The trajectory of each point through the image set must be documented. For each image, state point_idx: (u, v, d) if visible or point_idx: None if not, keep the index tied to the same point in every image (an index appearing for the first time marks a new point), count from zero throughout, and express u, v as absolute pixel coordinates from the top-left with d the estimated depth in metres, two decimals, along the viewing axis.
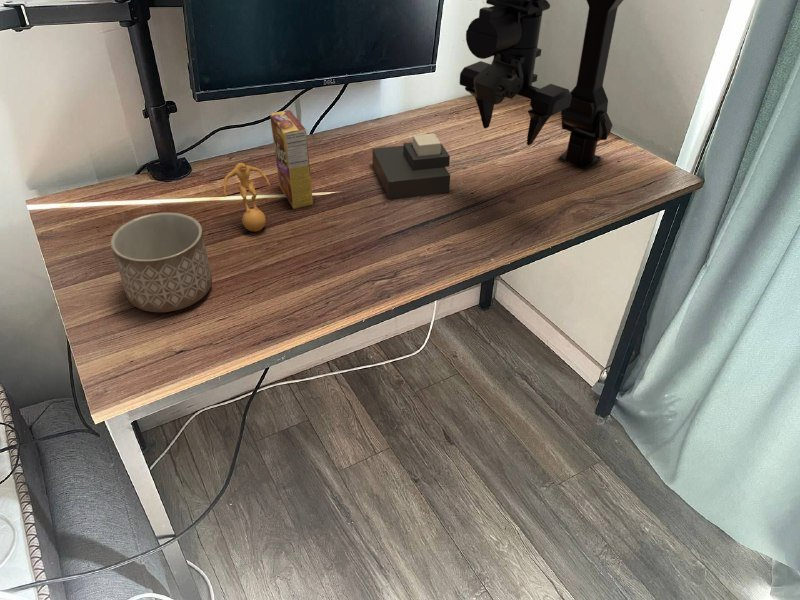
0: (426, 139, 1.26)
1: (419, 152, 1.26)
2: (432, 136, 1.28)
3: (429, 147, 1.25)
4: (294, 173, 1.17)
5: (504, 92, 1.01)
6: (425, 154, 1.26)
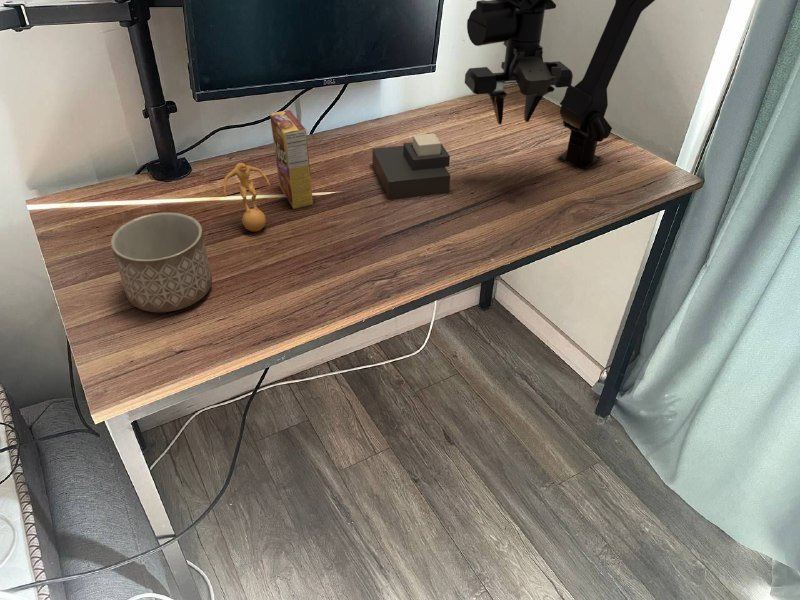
0: (426, 139, 1.26)
1: (419, 152, 1.26)
2: (432, 136, 1.28)
3: (429, 147, 1.25)
4: (294, 173, 1.17)
5: (555, 79, 1.12)
6: (425, 154, 1.26)
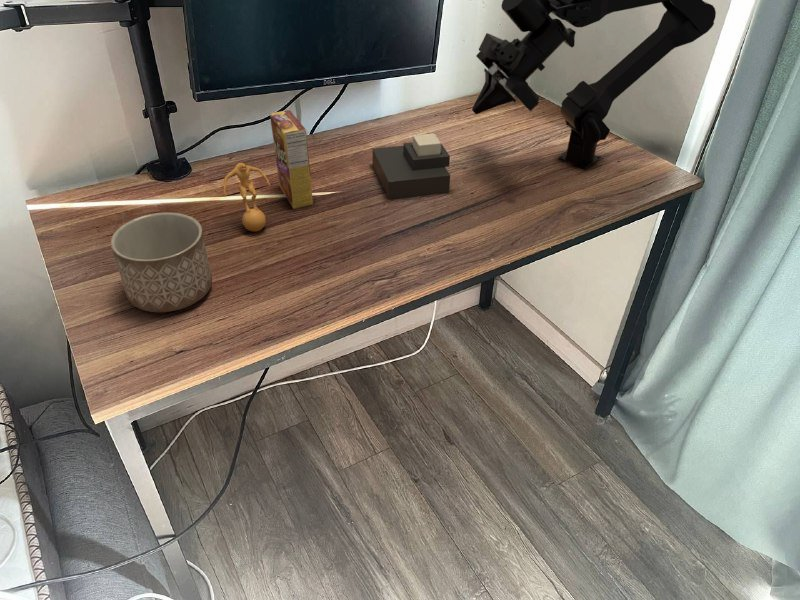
0: (426, 139, 1.26)
1: (419, 152, 1.26)
2: (432, 136, 1.28)
3: (429, 147, 1.25)
4: (294, 173, 1.17)
5: (498, 48, 1.15)
6: (425, 154, 1.26)
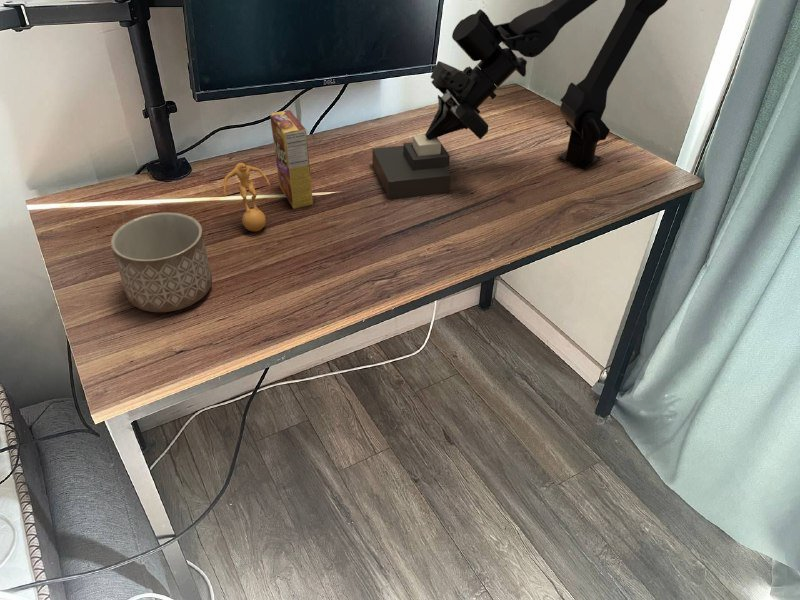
0: (426, 139, 1.26)
1: (419, 152, 1.26)
2: None
3: (429, 147, 1.25)
4: (294, 173, 1.17)
5: (447, 76, 1.16)
6: (425, 154, 1.26)
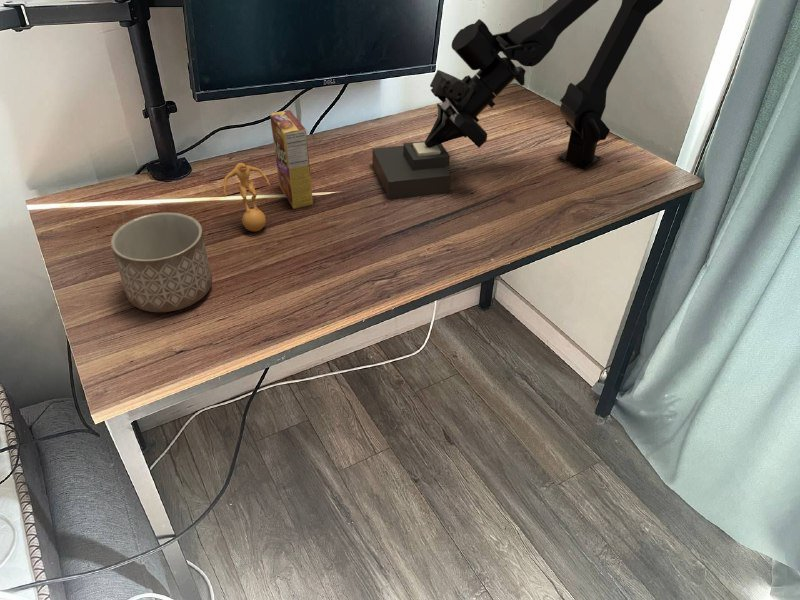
0: (425, 147, 1.28)
1: None
2: None
3: None
4: (294, 173, 1.17)
5: (447, 85, 1.17)
6: None
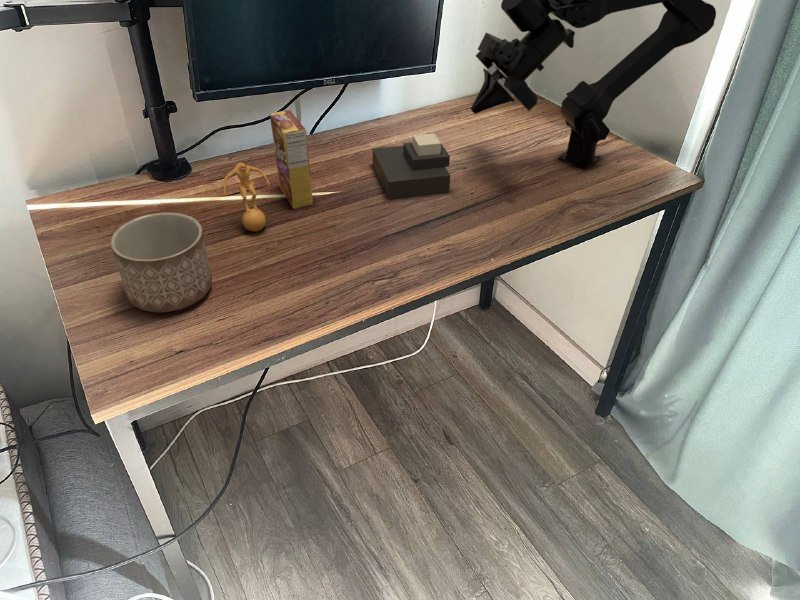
0: (426, 139, 1.26)
1: (419, 152, 1.26)
2: (432, 136, 1.28)
3: (429, 147, 1.25)
4: (294, 173, 1.17)
5: (497, 47, 1.15)
6: (425, 154, 1.26)
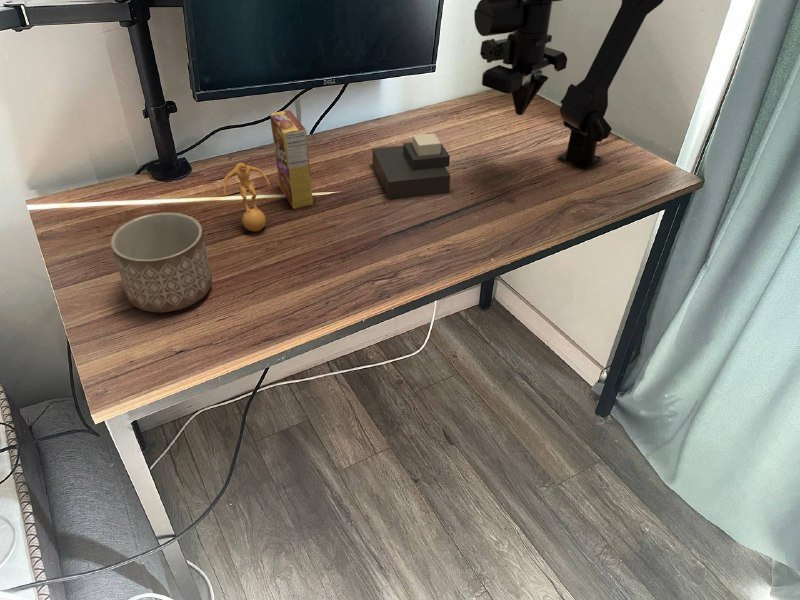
0: (426, 139, 1.26)
1: (419, 152, 1.26)
2: (432, 136, 1.28)
3: (429, 147, 1.25)
4: (294, 173, 1.17)
5: None
6: (425, 154, 1.26)
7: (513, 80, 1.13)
